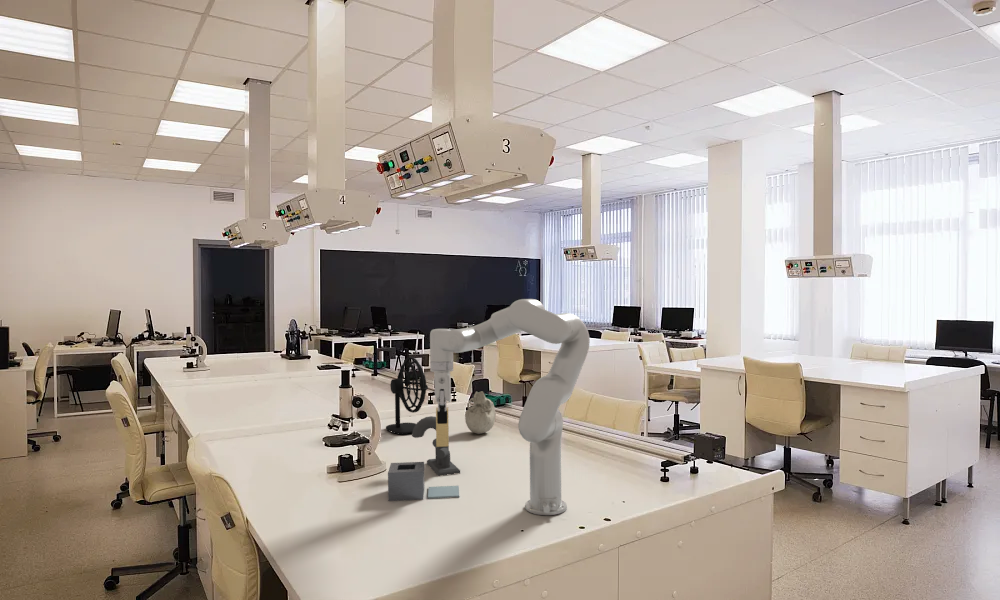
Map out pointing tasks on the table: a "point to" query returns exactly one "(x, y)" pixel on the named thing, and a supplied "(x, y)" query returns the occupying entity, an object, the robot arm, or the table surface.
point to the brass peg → (442, 432)
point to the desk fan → (399, 393)
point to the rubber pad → (443, 492)
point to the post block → (406, 481)
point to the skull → (480, 414)
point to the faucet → (442, 460)
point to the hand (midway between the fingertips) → (442, 421)
